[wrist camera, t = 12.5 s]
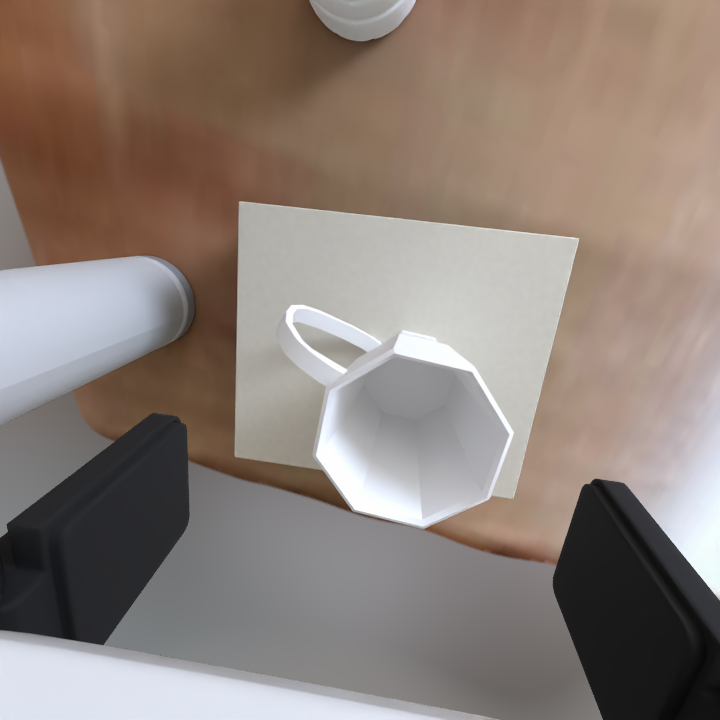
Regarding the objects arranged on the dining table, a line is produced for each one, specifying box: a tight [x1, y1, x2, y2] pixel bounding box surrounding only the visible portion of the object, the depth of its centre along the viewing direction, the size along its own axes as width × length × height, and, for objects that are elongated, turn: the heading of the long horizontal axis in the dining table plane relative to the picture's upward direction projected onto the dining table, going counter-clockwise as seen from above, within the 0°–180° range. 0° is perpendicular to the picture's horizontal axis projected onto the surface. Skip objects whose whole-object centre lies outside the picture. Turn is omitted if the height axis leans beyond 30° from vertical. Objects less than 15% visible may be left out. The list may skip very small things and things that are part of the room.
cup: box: [276, 305, 514, 529], centre depth 18 cm, size 7×10×8 cm
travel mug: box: [0, 255, 195, 426], centre depth 21 cm, size 6×7×20 cm
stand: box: [235, 201, 579, 499], centre depth 26 cm, size 14×16×7 cm
